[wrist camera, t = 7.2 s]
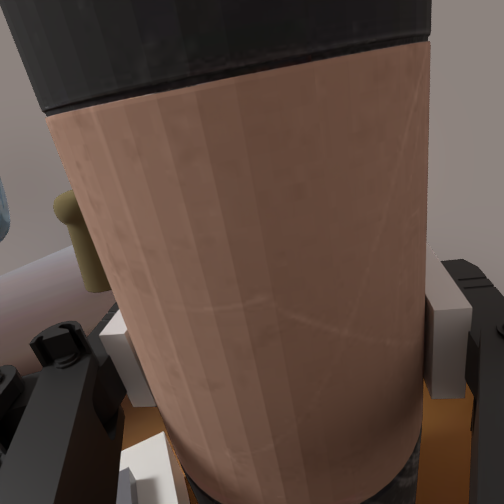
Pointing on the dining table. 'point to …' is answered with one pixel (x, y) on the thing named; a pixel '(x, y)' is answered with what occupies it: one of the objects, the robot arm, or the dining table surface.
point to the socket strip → (151, 474)
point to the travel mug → (256, 224)
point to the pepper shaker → (81, 242)
